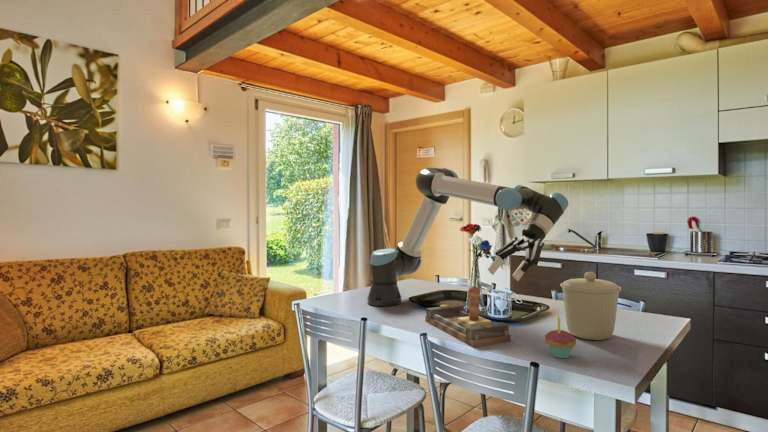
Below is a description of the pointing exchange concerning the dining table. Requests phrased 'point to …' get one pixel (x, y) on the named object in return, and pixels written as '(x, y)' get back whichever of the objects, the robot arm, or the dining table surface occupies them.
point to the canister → (590, 306)
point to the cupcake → (560, 342)
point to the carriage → (472, 310)
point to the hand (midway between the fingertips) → (502, 275)
